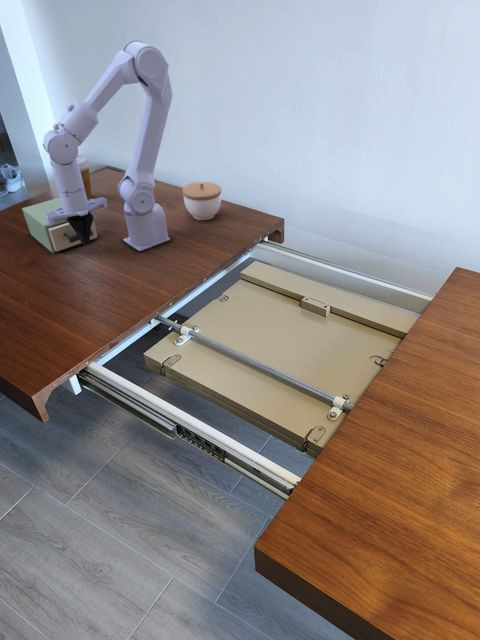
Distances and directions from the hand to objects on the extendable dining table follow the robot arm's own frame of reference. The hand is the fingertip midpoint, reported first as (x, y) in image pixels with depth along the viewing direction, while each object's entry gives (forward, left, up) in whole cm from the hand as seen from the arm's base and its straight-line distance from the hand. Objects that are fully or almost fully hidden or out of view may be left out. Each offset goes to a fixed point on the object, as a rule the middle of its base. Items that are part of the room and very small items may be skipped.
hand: (85, 242), depth 115 cm
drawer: (0, -10, -3) cm, 10 cm away
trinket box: (-35, +1, -4) cm, 35 cm away
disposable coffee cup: (-14, -32, -4) cm, 35 cm away
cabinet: (0, -14, -3) cm, 14 cm away
